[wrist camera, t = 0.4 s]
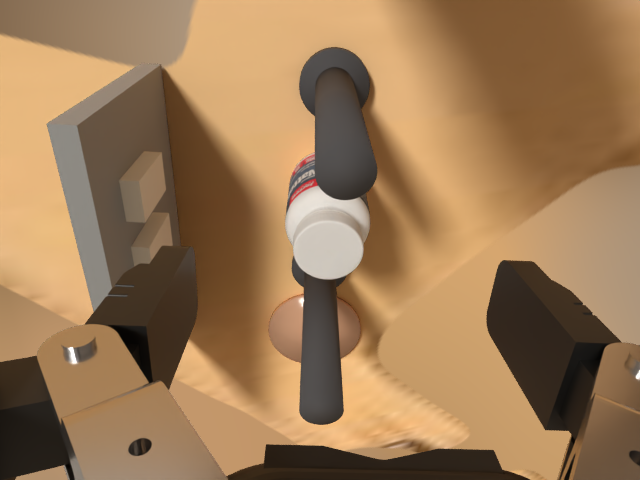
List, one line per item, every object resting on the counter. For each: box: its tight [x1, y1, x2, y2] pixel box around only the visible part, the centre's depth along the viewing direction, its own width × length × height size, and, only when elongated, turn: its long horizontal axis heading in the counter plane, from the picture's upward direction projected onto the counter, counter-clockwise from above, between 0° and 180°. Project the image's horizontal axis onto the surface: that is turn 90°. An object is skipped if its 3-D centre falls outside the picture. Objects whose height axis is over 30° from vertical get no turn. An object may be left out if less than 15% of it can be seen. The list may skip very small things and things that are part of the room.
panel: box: [47, 63, 181, 389], centre depth 30 cm, size 22×2×12 cm, turn 176°
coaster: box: [269, 294, 361, 363], centre depth 41 cm, size 8×8×1 cm
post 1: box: [299, 47, 377, 200], centre depth 24 cm, size 4×4×14 cm
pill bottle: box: [285, 152, 370, 279], centre depth 30 cm, size 5×5×9 cm
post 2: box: [292, 256, 346, 425], centre depth 31 cm, size 4×4×14 cm
